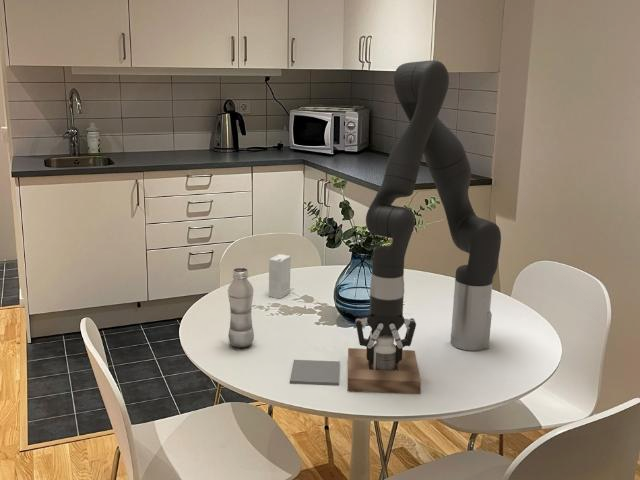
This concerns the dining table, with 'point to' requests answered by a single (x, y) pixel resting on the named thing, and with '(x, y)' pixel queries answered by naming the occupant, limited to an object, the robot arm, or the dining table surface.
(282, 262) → the skincare box
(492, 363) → the dining table surface
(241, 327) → the plastic bottle
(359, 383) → the walnut dock
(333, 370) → the charcoal mat
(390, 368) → the pill bottle
